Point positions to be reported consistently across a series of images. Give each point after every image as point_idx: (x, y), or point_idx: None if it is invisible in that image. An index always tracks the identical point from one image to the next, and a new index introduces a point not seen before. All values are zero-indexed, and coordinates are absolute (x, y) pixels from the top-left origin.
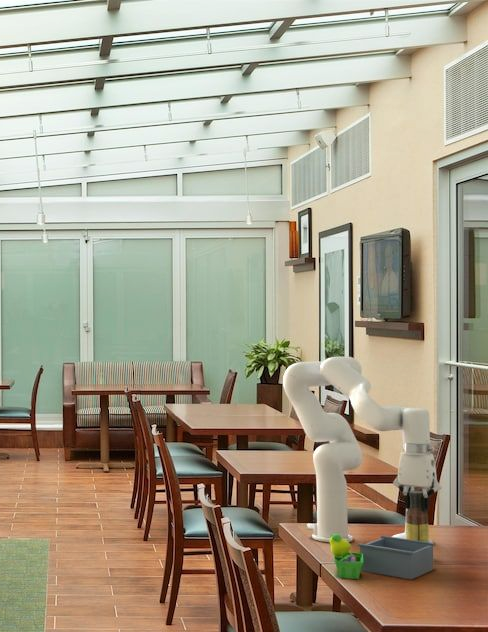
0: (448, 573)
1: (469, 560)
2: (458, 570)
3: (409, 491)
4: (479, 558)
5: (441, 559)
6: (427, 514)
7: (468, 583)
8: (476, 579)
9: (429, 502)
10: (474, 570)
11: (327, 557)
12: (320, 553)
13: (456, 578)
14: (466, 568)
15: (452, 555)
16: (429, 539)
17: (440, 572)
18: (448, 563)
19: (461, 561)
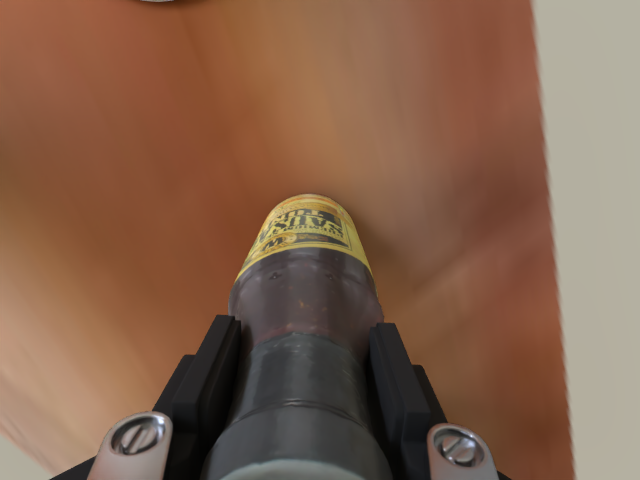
0: (470, 401)
1: (503, 142)
2: (492, 342)
3: (158, 474)
4: (538, 63)
5: (398, 204)
6: (382, 318)
7: (544, 475)
8: (561, 419)
9: (434, 394)
10: (542, 307)
11: (63, 442)
12: (6, 405)
13: (504, 444)
14: (513, 295)
15: (419, 84)
16: None
17: (445, 405)
18: (439, 258)
19: (477, 186)
